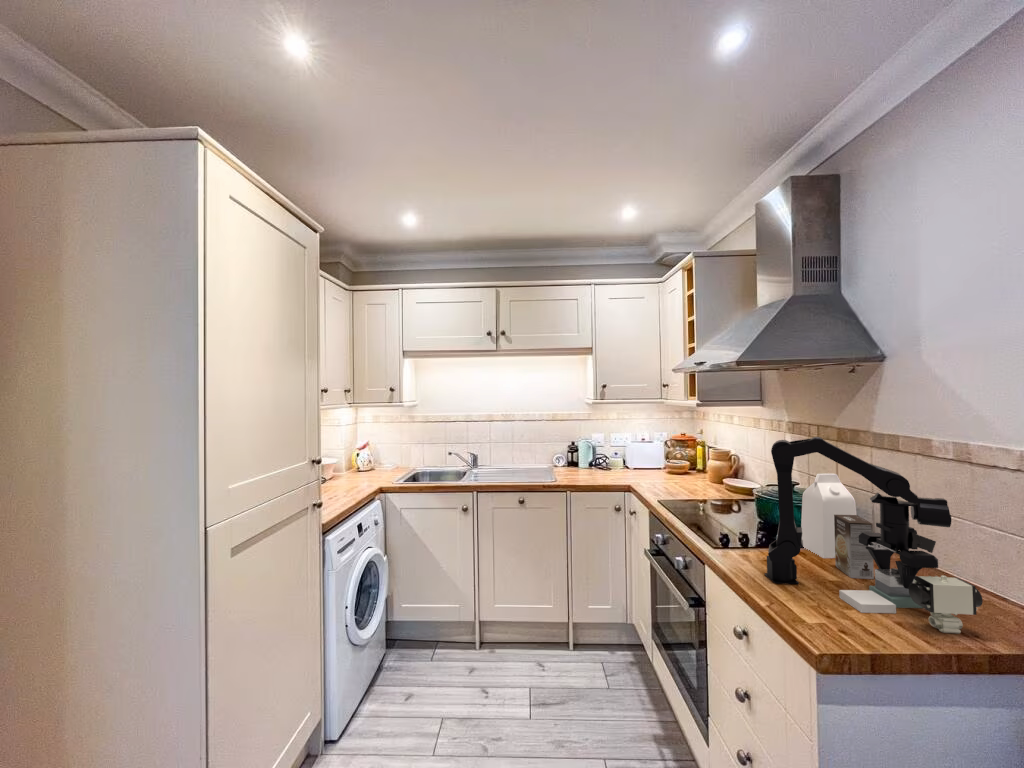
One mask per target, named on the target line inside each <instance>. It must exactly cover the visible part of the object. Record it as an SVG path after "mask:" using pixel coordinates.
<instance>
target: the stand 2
mask: <svg viewBox="0 0 1024 768" xmlns="http://www.w3.org/2000/svg"><path fill="white" fill-rule="evenodd" d="M868 590H871V591H873V592H875V593H877V594H878V595H880V596H882V597H883V598H885V599H887V600H888V601H890V602H892V603H893V604H895V605H896V609H898V608H899V609H901V608H902V609H905V608H906V609H924V608H923V607H921V606H919V605H918V604H916V603H915V602H914V601H913V600H912V599H911V597H890V596H888V595H886V594H885V593H883V592H881V591H879V590H878V589H876V588H875V585H869V586H868Z"/></svg>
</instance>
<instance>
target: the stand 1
mask: <svg viewBox="0 0 1024 768" xmlns="http://www.w3.org/2000/svg"><path fill="white" fill-rule="evenodd" d="M838 593H839V594H838V595H839V599H841V600H842V601H843V602H845V603H847V604H848V605H850V606H851V607H853V608H854V609H855V610H856V611H859V613H866V614H897V608H896V605H895V604H893V603H892V602H890V601H888V600H887V599H885V598H883V597H882V596H880V595H878V594H877V593H875V592H873V591H871V590H869V589H868V590H866V589H865V590H861V589H857V590H856V589H855V590H854V589H839V591H838Z"/></svg>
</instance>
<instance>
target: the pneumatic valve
mask: <svg viewBox="0 0 1024 768" xmlns="http://www.w3.org/2000/svg"><path fill="white" fill-rule="evenodd" d="M913 582H914V583H911V584H910V585H909V594H910V597H911V599H912V600H913V601H914V602H915V603H916V604H918V605H919V606H921V607H923V608H922V609H924V610H926V611H927V612H930V613H929V614H930V615H929V617H928V623H929V624H930V626H932V627H933V628H935V629H938V631H939V632H941V633H943V634H957V635H959V634H961V633H962V631H961V629H962V628H963V627H964V625H963V622H962V620H961V618H959V617H957V616H958V615H971V616H972V615H973V616H977V610H978V608H980V607H981V606H982V605H983V602H984V601H983V596H982V594H981V592H980V590H979V589H978V588H977V587H976V586H975V585H973V584H971V583H969V582H968V581H965V580H963V579H961V578H959V577H951V576H950V577H949V576H946V575H940V576H938V575H935V576H931V575H929V576H928V575H927V576H925V575H924V576H923V575H922V576H921V575H920V576H919V575H916V576H914V581H913Z"/></svg>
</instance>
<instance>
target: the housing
mask: <svg viewBox="0 0 1024 768" xmlns="http://www.w3.org/2000/svg"><path fill="white" fill-rule="evenodd" d="M913 581H914V580H913ZM874 583H875V584H874V586H875V588H876V589H878V590H879V591H881V592H883V593H885V594H886V595H888V596H890V597H910V594H909V589H906V588H904V586H903V584H902V581H901V578H900V575H899V572H898V568H897V567H896V568H894V567H893V568H891V567H890V569H879V568H874ZM913 583H914V582H913Z"/></svg>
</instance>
